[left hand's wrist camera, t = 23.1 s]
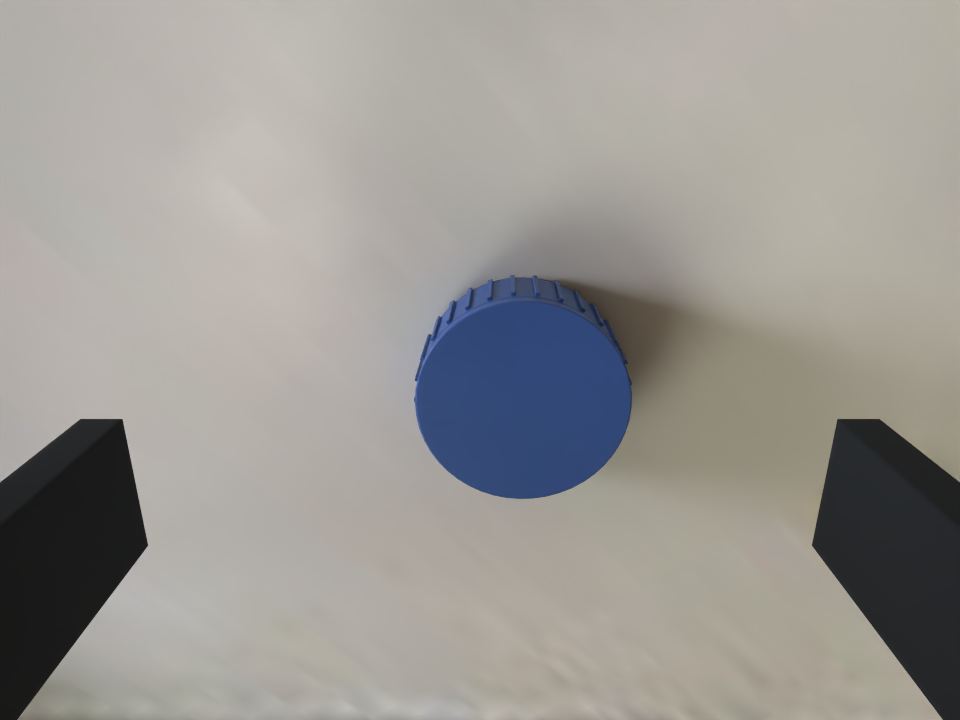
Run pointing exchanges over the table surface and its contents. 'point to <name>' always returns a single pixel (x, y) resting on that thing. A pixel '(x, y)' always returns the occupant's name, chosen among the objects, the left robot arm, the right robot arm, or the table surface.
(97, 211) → the table surface
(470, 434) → the lid
